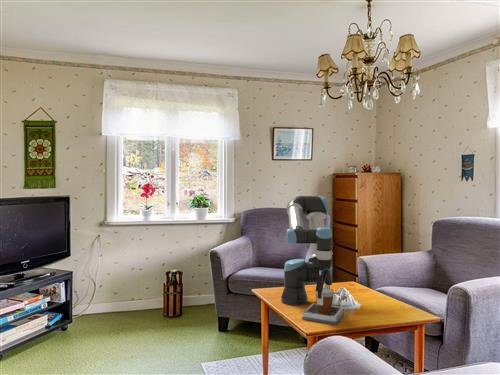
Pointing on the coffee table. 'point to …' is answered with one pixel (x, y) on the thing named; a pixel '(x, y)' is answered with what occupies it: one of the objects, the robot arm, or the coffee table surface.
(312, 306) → the tray
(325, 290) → the disposable coffee cup
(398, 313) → the coffee table surface
